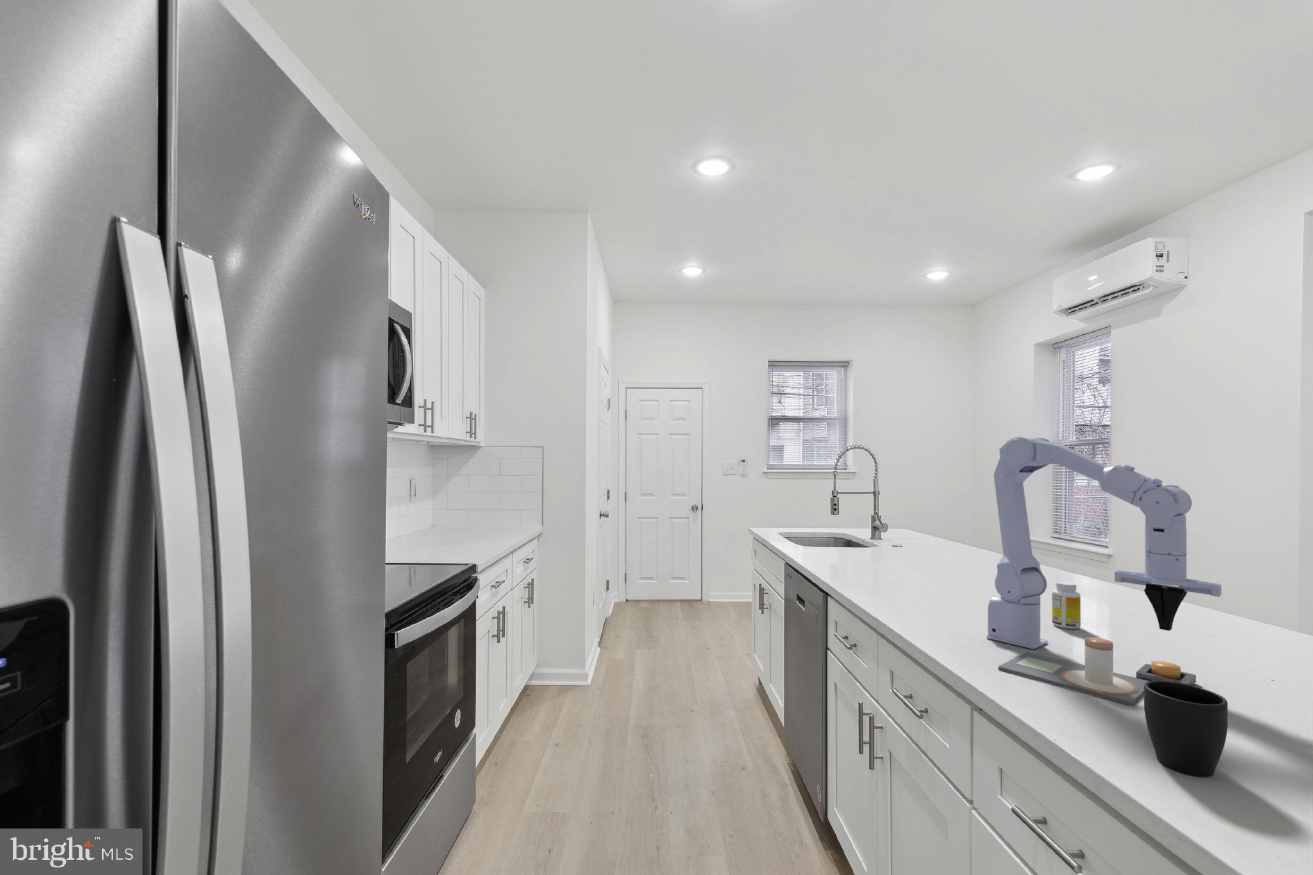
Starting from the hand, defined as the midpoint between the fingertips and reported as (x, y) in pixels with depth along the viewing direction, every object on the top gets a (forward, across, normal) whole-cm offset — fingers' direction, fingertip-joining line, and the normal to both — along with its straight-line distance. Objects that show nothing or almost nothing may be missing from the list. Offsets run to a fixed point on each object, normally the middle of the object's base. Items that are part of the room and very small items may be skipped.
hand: (1165, 629), depth 107 cm
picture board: (+9, -11, -11) cm, 18 cm away
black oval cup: (+10, +8, -34) cm, 36 cm away
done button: (+8, 0, 0) cm, 8 cm away
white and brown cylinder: (+9, -7, -12) cm, 16 cm away
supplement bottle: (+10, -23, +26) cm, 36 cm away
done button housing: (+9, 0, 0) cm, 9 cm away
